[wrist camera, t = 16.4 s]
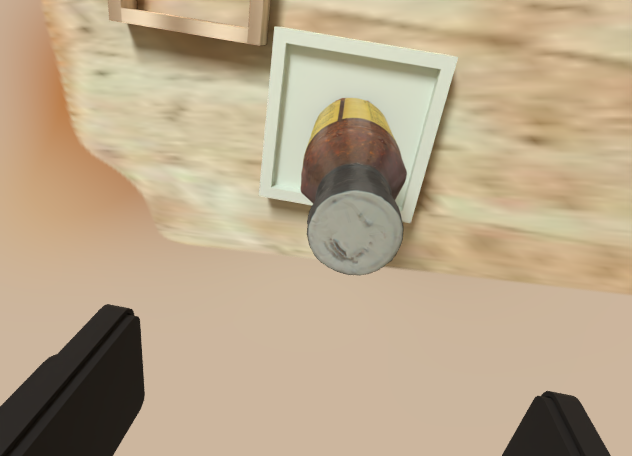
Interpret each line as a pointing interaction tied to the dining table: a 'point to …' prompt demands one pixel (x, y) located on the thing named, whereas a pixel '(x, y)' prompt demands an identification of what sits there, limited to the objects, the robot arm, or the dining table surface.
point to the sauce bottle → (353, 188)
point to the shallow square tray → (349, 82)
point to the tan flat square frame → (197, 22)
